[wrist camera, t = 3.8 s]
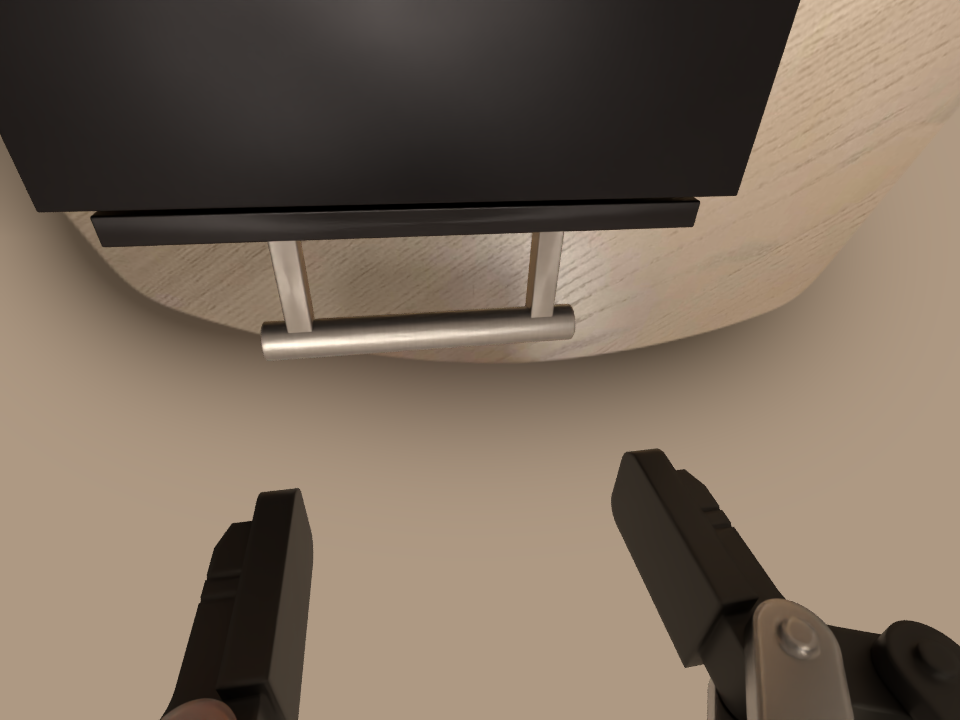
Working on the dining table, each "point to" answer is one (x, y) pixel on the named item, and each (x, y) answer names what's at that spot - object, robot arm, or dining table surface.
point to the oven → (382, 100)
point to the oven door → (398, 220)
